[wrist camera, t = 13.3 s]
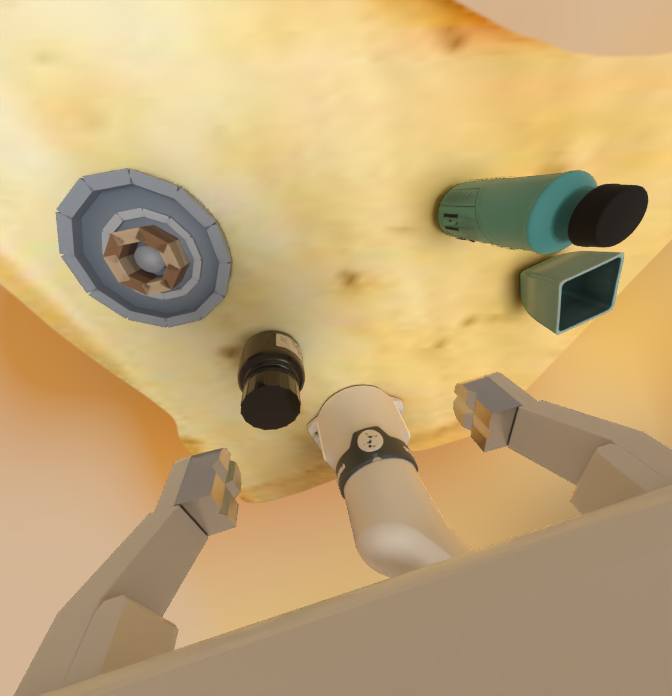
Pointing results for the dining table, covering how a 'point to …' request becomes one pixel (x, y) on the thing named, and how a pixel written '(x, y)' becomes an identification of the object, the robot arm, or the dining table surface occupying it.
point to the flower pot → (571, 288)
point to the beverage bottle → (543, 212)
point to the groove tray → (143, 245)
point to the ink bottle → (271, 380)
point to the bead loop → (127, 269)
